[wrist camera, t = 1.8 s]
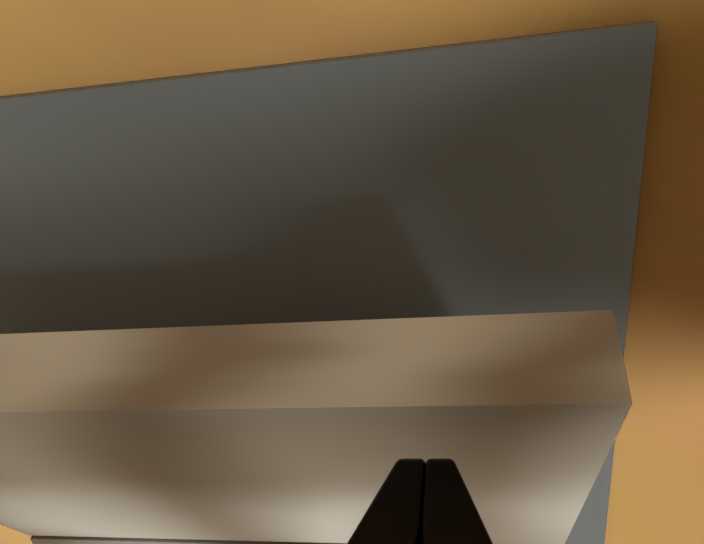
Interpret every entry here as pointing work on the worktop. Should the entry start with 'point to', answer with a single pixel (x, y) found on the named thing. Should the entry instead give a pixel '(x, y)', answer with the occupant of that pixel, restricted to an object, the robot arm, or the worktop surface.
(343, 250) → the underlay mat
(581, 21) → the worktop surface
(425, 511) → the robot arm
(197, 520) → the loose plank
